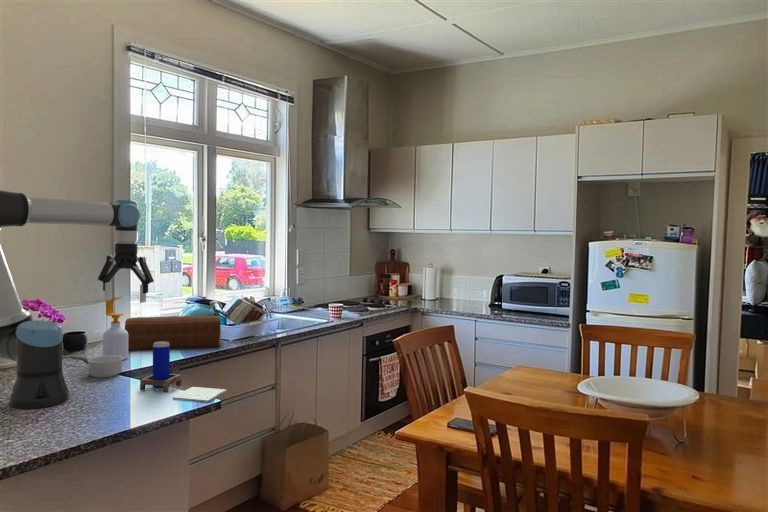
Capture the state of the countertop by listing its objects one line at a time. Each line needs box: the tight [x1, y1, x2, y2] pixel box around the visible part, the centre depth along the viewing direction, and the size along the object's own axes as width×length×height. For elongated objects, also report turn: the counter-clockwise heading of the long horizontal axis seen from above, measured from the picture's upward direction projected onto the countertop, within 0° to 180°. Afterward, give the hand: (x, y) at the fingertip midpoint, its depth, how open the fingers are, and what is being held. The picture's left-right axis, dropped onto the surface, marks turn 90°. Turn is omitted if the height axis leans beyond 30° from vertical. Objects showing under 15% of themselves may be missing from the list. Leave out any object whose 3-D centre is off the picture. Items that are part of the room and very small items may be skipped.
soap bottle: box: [102, 296, 129, 361], centre depth 224 cm, size 9×9×25 cm
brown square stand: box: [139, 373, 182, 393], centre depth 187 cm, size 9×9×4 cm
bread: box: [124, 315, 222, 352], centre depth 251 cm, size 16×39×13 cm, turn 109°
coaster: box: [171, 386, 227, 403], centre depth 180 cm, size 12×12×1 cm
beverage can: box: [152, 341, 171, 390], centre depth 187 cm, size 5×5×15 cm
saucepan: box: [68, 355, 123, 378], centre depth 203 cm, size 12×20×6 cm, turn 78°
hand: (125, 301), depth 207 cm, fingers open, 13 cm apart
